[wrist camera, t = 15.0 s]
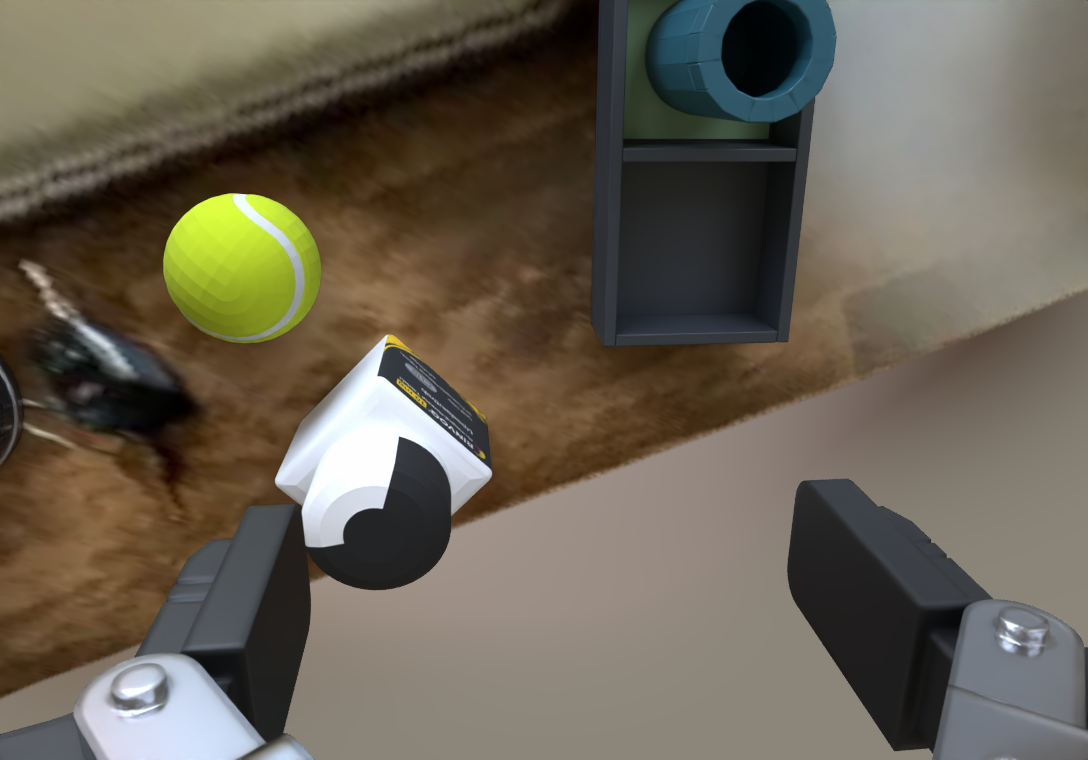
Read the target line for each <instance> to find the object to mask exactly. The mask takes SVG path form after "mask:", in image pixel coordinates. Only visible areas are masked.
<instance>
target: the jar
mask: <svg viewBox="0 0 1088 760" xmlns="http://www.w3.org/2000/svg"><path fill="white" fill-rule="evenodd" d="M836 37H837V36H836V30H835V26H834V22H833V18H832V14H831V10H830V8H829V7H828V4H827V2H826V1H825V0H679V1H677V2H675V3H673V5H671V6H670V7H668V8H667V9H666V10H665V11H664V12H663V13H662V14H661V16H660V17H659V18H658V19H657V21H656V22H655V24H654V26H653V28H652V30H651V32H650V34H649V37H648V40H647V44H646V51H645V65H646V72H647V76H648V79H649V81H650V84H651V86H652V88H653V89H654V91H655V92H656V94H657V95H658V96H659V98H660V99H661V100H662V101H663V102H665V103H666V104H667V105H669V106H670V107H672V108H674V109H675V110H678V111H680V112H684V113H686V114H689V115H696V116H703V117H710V118H717V119H724V120H731V121H739V122H746V123H772V122H777V121H779V120H782V119H784V118H786V117H789V116H791V115H794V114H796V113H798V112H799V111H801V110H802V109H803V108H804V107H805V106H806V105H807V104H808V103H809V102H810V101H811V100H812V99H813V98H814V97H815V96H816V95H817V94H818V93H819V91H821V89H822V87H823V85H824V83H825V81H826V79H827V77H828V75H829V72H830V70H831V68H832V66H833V65H832V64H833V62H834V54H835V45H836Z"/></svg>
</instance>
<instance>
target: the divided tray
mask: <svg viewBox="0 0 1088 760" xmlns="http://www.w3.org/2000/svg"><path fill="white" fill-rule="evenodd" d="M677 1H679V0H599V33H598V70H597V107H596V144H595V182H594V219H593V256H592V293H591V325H592V327H593V329H594V330H595V332H596V334H597V336H598V337H599V339H600V341H601V343H602V344H603V346H604V347H610V346H615V345H616V346H651V345H692V344H733V343H773V342H788V339H789V329H790V320H791V311H792V302H793V293H794V284H795V275H796V266H797V257H798V248H799V239H800V230H801V221H802V212H803V203H804V194H805V185H806V176H807V167H808V158H809V149H810V140H811V131H812V122H813V113H814V104H815V97H814V98H813V99H812V100H811V101H810V102H809V103H808V104H807V105H806V106H805V107H804V108H803V109H802V110H801V111H799V112H798V113H796V114H794V115H791V116H789V117H786V118H784V119H782V120H779V121H777V122H772V123H746V122H739V121H731V120H724V119H717V118H710V117H703V116H696V115H689V114H686V113H684V112H680V111H678V110H675V109H674V108H672V107H670V106H669V105H667V104H666V103H665V102H663V101H662V100H661V99H660V98H659V96H658V95H657V94H656V92H655V91H654V89H653V88H652V86H651V84H650V81H649V79H648V76H647V72H646V65H645V51H646V44H647V40H648V37H649V34H650V32H651V30H652V28H653V26H654V24H655V22H656V21H657V19H658V18H659V17H660V16H661V14H662V13H663V12H664V11H665V10H666V9H667V8H668V7H670V6H671V5H673V3H675V2H677ZM825 1H826V0H825Z"/></svg>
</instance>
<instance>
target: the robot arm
mask: <svg viewBox="0 0 1088 760" xmlns="http://www.w3.org/2000/svg"><path fill="white" fill-rule="evenodd" d="M23 416H24V413H23V402H22V397H21V393H20V390H19V387H18V384H17V382H16V380H15V378H14V376H13V374H12V372H11V370H10V369H9V367H8V365H7V364H6V362H5V361H4V360H3V359H2V357H1V356H0V465H1V464H2V463H3V462H4V461H5V460H6V459H7V458H8V457H9V456H10V454H11V453H12V452H13V450H14V448H15V447H16V445H17V442H18V440H19V438H20V434H21V431H22V426H23ZM787 569H788V570H787V572H788V581H789V587H790V590H791V594H792V597H793V599H794V601H795V603H796V605H797V606H798V608H799V609H800V611H801V612H802V613H803V615H804V617H805V618H806V620H807V621H808V622H809V624H810V625H811V627H812V629H813V630H814V632H815V633H816V635H817V636H818V638H819V639H820V641H821V642H822V644H823V645H824V646H825V648H826V650H827V651H828V653H829V654H830V656H831V657H832V658H833V660H834V661H835V663H836V664H837V666H838V667H839V669H840V671H841V672H842V674H843V675H844V677H845V678H846V679H847V681H848V683H849V684H850V685H851V687H852V689H853V690H854V692H855V693H856V695H857V696H858V698H859V699H860V701H861V702H862V704H863V705H864V706H865V708H866V709H867V711H868V713H869V714H870V716H871V717H872V719H873V720H874V721H875V723H876V724H877V726H878V728H879V729H880V731H881V732H882V734H883V735H884V736H885V738H886V740H887V741H888V743H889V744H890V745H891V747H892V748H893V750H894V751H901V750H914V749H926V748H929V749H930V750H931V752H932V753H933V758H932V760H1088V648H1087V647H1084V644H1083V641H1082V639H1081V638H1080V636H1079V635H1078V634H1077V633H1076V631H1075V630H1074V629H1072V628H1071V627H1070V626H1069V625H1068V624H1067V623H1065V622H1064V621H1062V620H1061V619H1059V618H1057V617H1056V616H1054V615H1052V614H1050V613H1048V612H1046V611H1044V610H1041V609H1039V608H1036V607H1034V606H1030V605H1027V604H1024V603H1019V602H1015V601H1008V600H999V599H993V598H992V597H991V596H990V595H989V594H988V593H987V592H986V591H985V590H984V589H983V588H981V587H980V586H979V585H978V584H977V583H976V582H975V581H974V580H973V579H972V578H971V577H970V576H969V575H968V574H967V573H966V572H965V571H964V570H962V569H961V568H960V567H959V566H958V565H957V564H956V563H955V562H954V561H953V560H952V559H951V558H947V556H946V553H944V552H943V551H942V550H941V549H940V548H939V547H938V546H937V545H936V544H935V543H931V539H930V538H929V537H928V536H927V535H926V534H924V532H922V531H921V530H920V529H919V528H918V527H917V526H916V525H915V524H914V523H913V522H912V521H910V520H908V519H906V518H904V517H903V516H901V515H899V514H897V513H895V512H893V511H891V510H889V509H887V508H885V507H884V506H880V507H878V506H877V505H876V504H875V503H874V502H873V501H872V500H871V499H870V498H869V497H868V496H867V495H866V494H865V493H864V492H863V491H862V490H861V489H860V488H859V487H858V486H857V485H856V484H855V483H854V482H853V481H851V480H849V479H832V480H831V479H830V480H809V481H803V482H801V483H800V485H799V486H798V489H797V492H796V497H795V505H794V515H793V522H792V531H791V539H790V548H789V556H788V567H787ZM310 613H311V595H310V584H309V574H308V565H307V555H306V546H305V537H304V527H303V519H302V512H301V509H300V506H299V504H282V505H261V506H249V507H248V508H247V509H246V511H245V513H244V516H243V518H242V520H241V522H240V524H239V526H238V528H237V530H236V533H235V535H234V537H233V539H215V540H211V541H210V542H209V543H207V544H206V545H205V546H204V547H202V548H201V549H200V550H198V551H197V552H196V553H195V554H193V555H192V556H191V557H190V558H188V559H187V561H186V563H185V565H184V567H183V569H182V571H181V572H180V574H179V576H178V578H177V580H176V585H173V587H172V589H171V591H170V593H169V595H168V596H167V602H166V603H164V604H163V606H162V607H161V609H160V611H159V613H158V615H157V617H156V619H155V620H154V622H153V624H152V626H151V628H150V630H149V631H148V633H147V635H146V637H145V639H144V641H143V642H142V644H141V646H140V648H139V650H138V652H137V654H136V655H135V657H134V658H132V659H129V660H127V661H124V662H122V663H119V664H117V665H115V666H113V667H111V668H109V669H108V670H106V671H104V672H103V673H101V674H99V675H98V676H97V677H95V678H94V679H93V680H92V681H90V683H88V684H87V685H86V686H85V687H84V689H83V690H82V691H81V692H80V694H79V695H78V697H77V699H76V701H75V704H74V708H73V712H72V713H70V714H67V715H65V716H63V717H59V718H56V719H53V720H50V721H47V722H43V723H39V724H35V725H32V726H28V727H25V728H21V729H18V730H14V731H10V732H7V733H3V734H0V760H314V758H313V757H311V755H310V754H309V753H308V752H307V751H306V750H305V748H304V747H303V746H302V745H301V744H300V743H299V742H298V741H297V740H296V739H295V738H294V737H292V736H291V735H289V734H287V733H283V731H284V727H285V723H286V719H287V715H288V711H289V707H290V703H291V699H292V695H293V691H294V687H295V683H296V680H297V675H298V672H299V668H300V663H301V660H302V655H303V652H304V648H305V644H306V640H307V636H308V631H309V625H310Z"/></svg>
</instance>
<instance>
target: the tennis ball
mask: <svg viewBox="0 0 1088 760" xmlns="http://www.w3.org/2000/svg"><path fill="white" fill-rule="evenodd" d="M163 264H164V278H165V282H166V285H167V289H168V292H169V294H170V296H171V298H172V300H173V301H174V303H175V304H176V306H177V307H178V308H179V310H180V311H181V313H182V314H183V315H184V317H185V318H186V319H187V320H188V321H189V322H190V323H191V324H193V325H194V326H195V327H196V328H198V329H199V330H201V331H203V332H205V333H207V334H209V335H211V336H213V337H215V338H218V339H221V340H225V341H228V342H237V343H254V342H262V341H266V340H270V339H274V338H276V337H278V336H280V335H282V334H284V333H286V332H288V331H289V330H290V329H292V328H293V327H294V326H295V325H297V324H298V323H299V322H300V321H301V320H302V319H303V318H304V317H305V316H306V314H307V313H308V312H309V311H310V309H311V307H312V305H313V304H314V302H315V300H316V297H317V294H318V290H319V287H320V281H321V262H320V255H319V252H318V249H317V246H316V243H315V241H314V239H313V237H312V235H311V234H310V232H309V230H308V229H307V227H306V226H305V225H304V224H303V223H302V221H301V220H300V219H299V218H298V217H297V216H296V215H295V214H293V213H292V212H291V211H290V210H288V209H287V208H286V207H284V206H283V205H281V204H279V203H277V202H275V201H272V200H270V199H268V198H265V197H262V196H258V195H251V194H250V195H244V194H225V195H221V196H217V197H213V198H210V199H208V200H206V201H204V202H202V203H200V204H198V205H196V206H195V207H194V208H192V209H191V210H190V211H189V212H187V213H186V214H185V215H184V216H183V217H182V218H181V219H180V221H179V222H178V223H177V224H176V226H175V227H174V228H173V230H172V232H171V234H170V236H169V239H168V241H167V244H166V249H165V253H164V260H163Z"/></svg>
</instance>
